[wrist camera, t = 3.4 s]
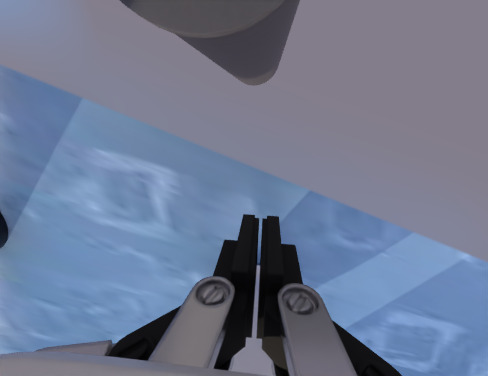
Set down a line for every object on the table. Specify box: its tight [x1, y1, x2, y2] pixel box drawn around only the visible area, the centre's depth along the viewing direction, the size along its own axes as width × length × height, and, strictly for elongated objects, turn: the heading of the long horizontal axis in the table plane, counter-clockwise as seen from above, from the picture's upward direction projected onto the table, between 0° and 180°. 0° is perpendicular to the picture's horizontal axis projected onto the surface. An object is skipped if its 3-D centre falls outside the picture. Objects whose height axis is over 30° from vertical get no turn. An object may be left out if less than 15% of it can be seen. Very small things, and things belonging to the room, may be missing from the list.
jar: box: [231, 265, 273, 376], centre depth 17 cm, size 11×10×15 cm
